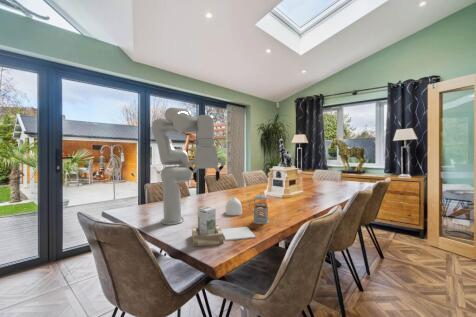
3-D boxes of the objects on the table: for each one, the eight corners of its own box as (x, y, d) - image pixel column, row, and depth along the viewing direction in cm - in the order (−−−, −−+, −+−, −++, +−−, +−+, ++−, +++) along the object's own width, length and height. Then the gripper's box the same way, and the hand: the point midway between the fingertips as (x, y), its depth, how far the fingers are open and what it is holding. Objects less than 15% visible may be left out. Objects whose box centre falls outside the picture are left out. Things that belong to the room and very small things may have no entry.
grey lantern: (269, 224, 128) (268, 178, 127) (248, 223, 130) (247, 178, 129) (270, 219, 137) (270, 176, 136) (250, 218, 140) (250, 176, 139)
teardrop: (244, 214, 147) (244, 195, 147) (227, 216, 145) (226, 196, 144) (240, 210, 158) (239, 192, 158) (223, 211, 156) (223, 193, 155)
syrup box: (207, 236, 112) (206, 205, 111) (216, 239, 108) (215, 207, 107) (198, 239, 107) (197, 208, 107) (207, 243, 103) (206, 210, 103)
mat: (220, 230, 119) (220, 229, 119) (247, 227, 123) (247, 226, 123) (226, 240, 106) (226, 239, 106) (255, 237, 109) (255, 236, 109)
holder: (192, 235, 112) (191, 227, 112) (218, 233, 115) (218, 225, 115) (193, 246, 100) (193, 237, 99) (223, 243, 103) (223, 234, 103)
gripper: (186, 142, 100) (187, 183, 100) (226, 142, 104) (226, 181, 105) (185, 143, 107) (186, 180, 108) (223, 143, 111) (223, 179, 112)
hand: (206, 181), depth 106 cm, fingers open, 9 cm apart
